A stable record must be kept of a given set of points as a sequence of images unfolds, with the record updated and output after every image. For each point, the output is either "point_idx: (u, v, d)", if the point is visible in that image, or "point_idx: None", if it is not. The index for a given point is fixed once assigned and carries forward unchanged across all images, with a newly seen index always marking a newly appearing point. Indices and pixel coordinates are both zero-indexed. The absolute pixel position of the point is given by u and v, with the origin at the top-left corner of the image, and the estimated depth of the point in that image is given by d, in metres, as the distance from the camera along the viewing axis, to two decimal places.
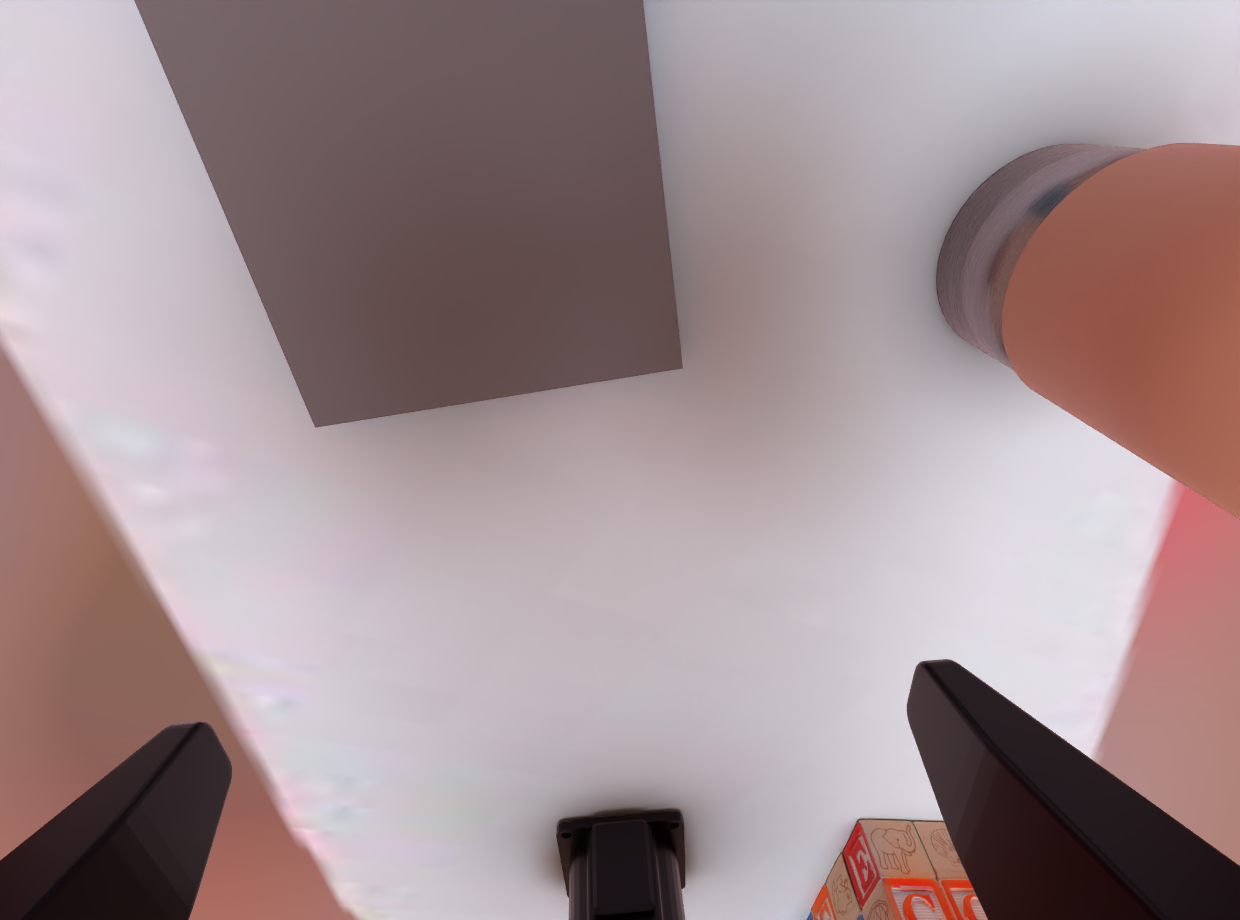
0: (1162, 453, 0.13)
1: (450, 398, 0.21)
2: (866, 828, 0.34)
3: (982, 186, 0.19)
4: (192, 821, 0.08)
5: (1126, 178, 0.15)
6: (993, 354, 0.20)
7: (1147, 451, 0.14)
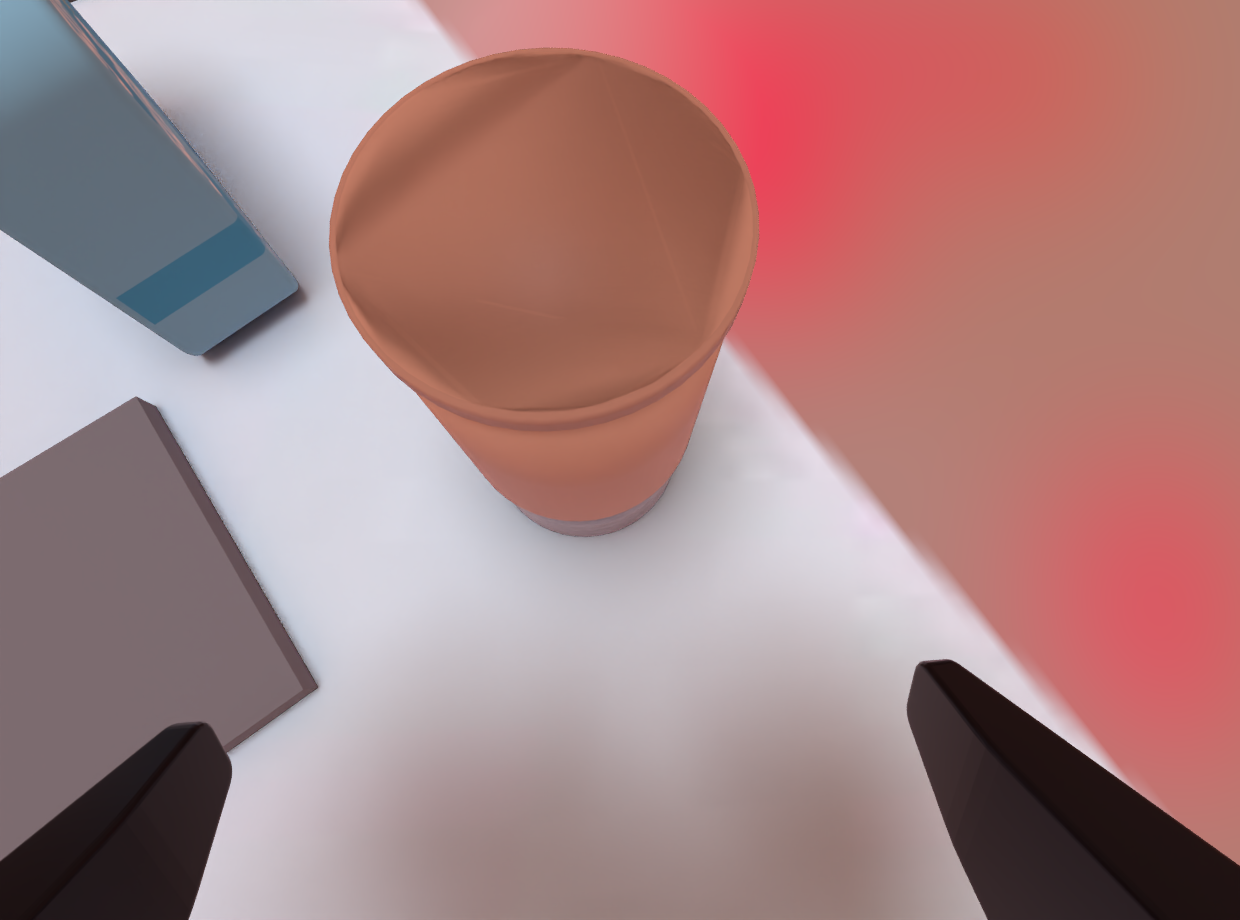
0: (489, 458, 0.13)
1: None
2: None
3: None
4: (192, 821, 0.08)
5: None
6: (556, 522, 0.20)
7: (506, 470, 0.14)
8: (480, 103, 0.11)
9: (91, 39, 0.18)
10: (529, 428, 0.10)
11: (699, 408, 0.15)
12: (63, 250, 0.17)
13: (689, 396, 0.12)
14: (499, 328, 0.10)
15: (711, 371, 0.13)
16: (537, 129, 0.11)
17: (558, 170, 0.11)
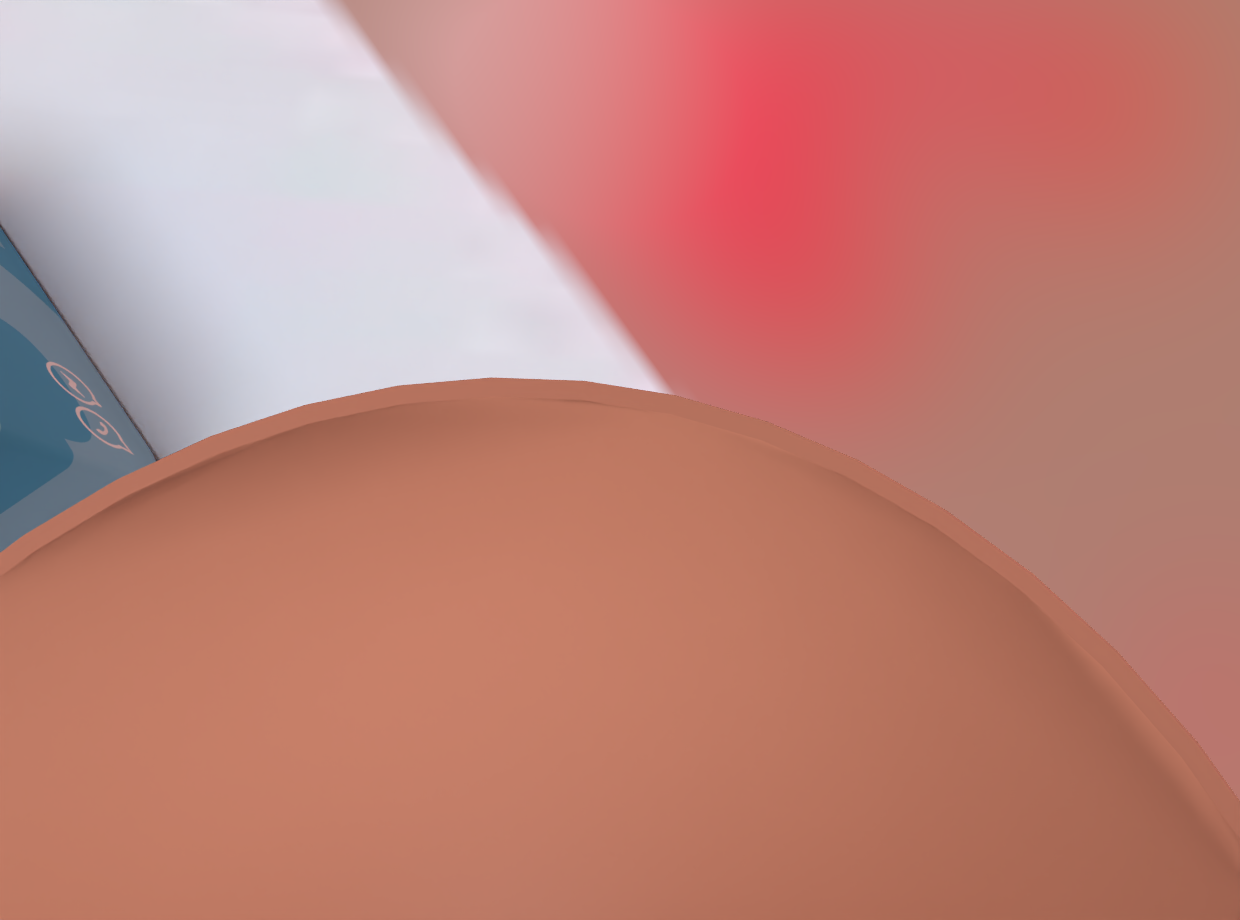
0: None
1: None
2: None
3: None
4: None
5: None
6: None
7: None
8: (229, 633, 0.03)
9: None
10: None
11: None
12: None
13: None
14: None
15: None
16: (447, 768, 0.03)
17: None
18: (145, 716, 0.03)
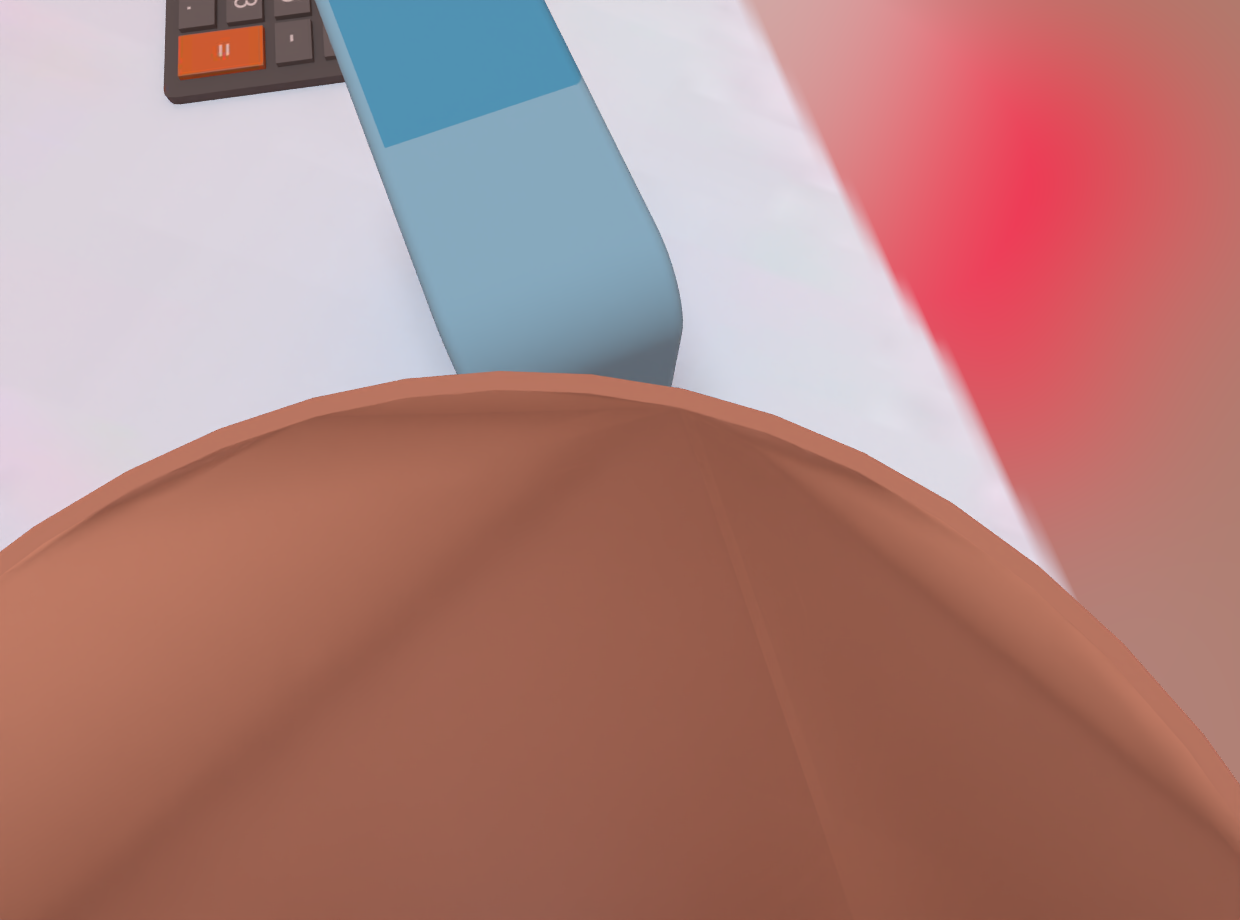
0: None
1: None
2: None
3: None
4: None
5: None
6: None
7: None
8: (237, 624, 0.03)
9: None
10: None
11: None
12: None
13: None
14: None
15: None
16: (456, 759, 0.03)
17: None
18: (156, 706, 0.03)
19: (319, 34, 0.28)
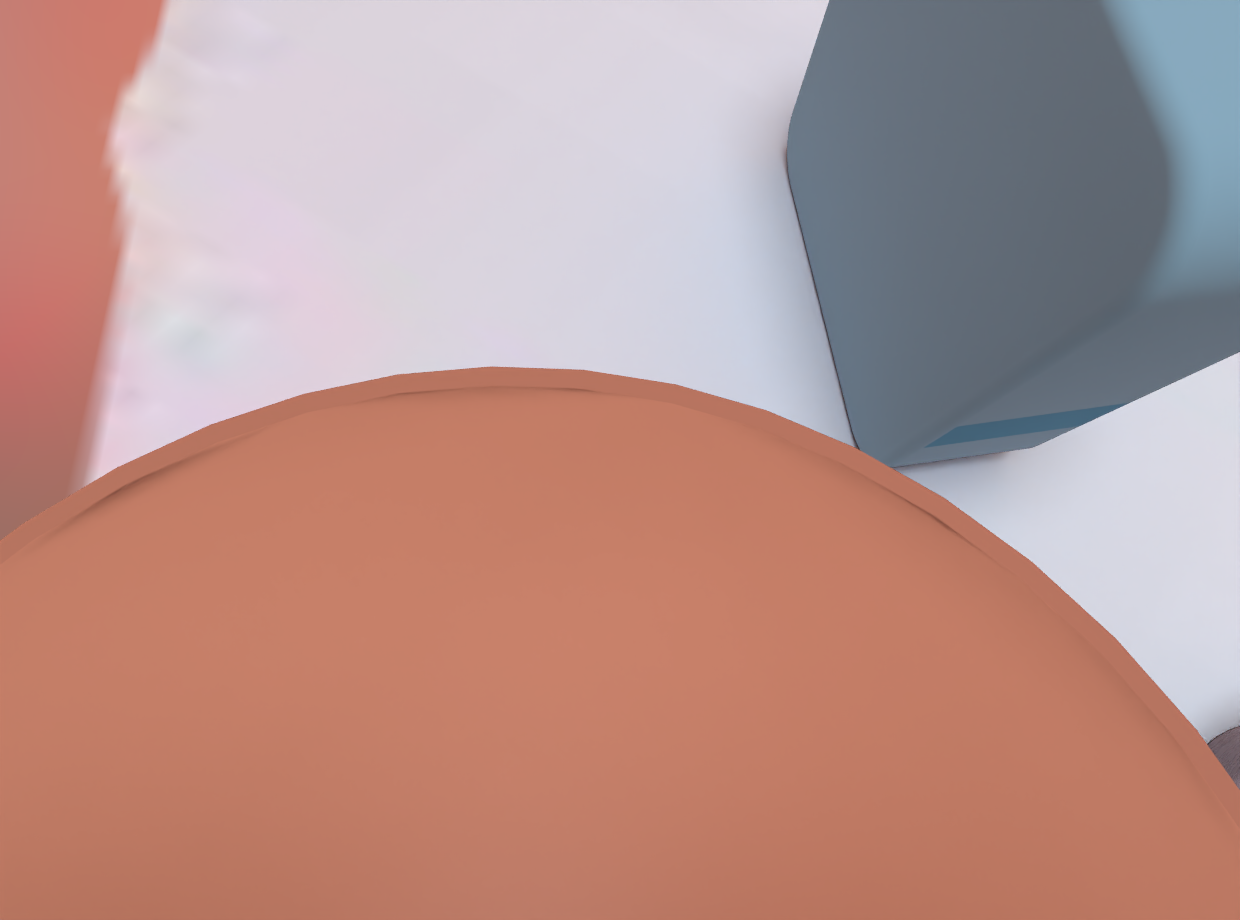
0: None
1: None
2: None
3: None
4: None
5: None
6: None
7: None
8: (226, 620, 0.03)
9: None
10: None
11: None
12: (1027, 388, 0.12)
13: None
14: None
15: None
16: (448, 753, 0.03)
17: None
18: (146, 702, 0.03)
19: None
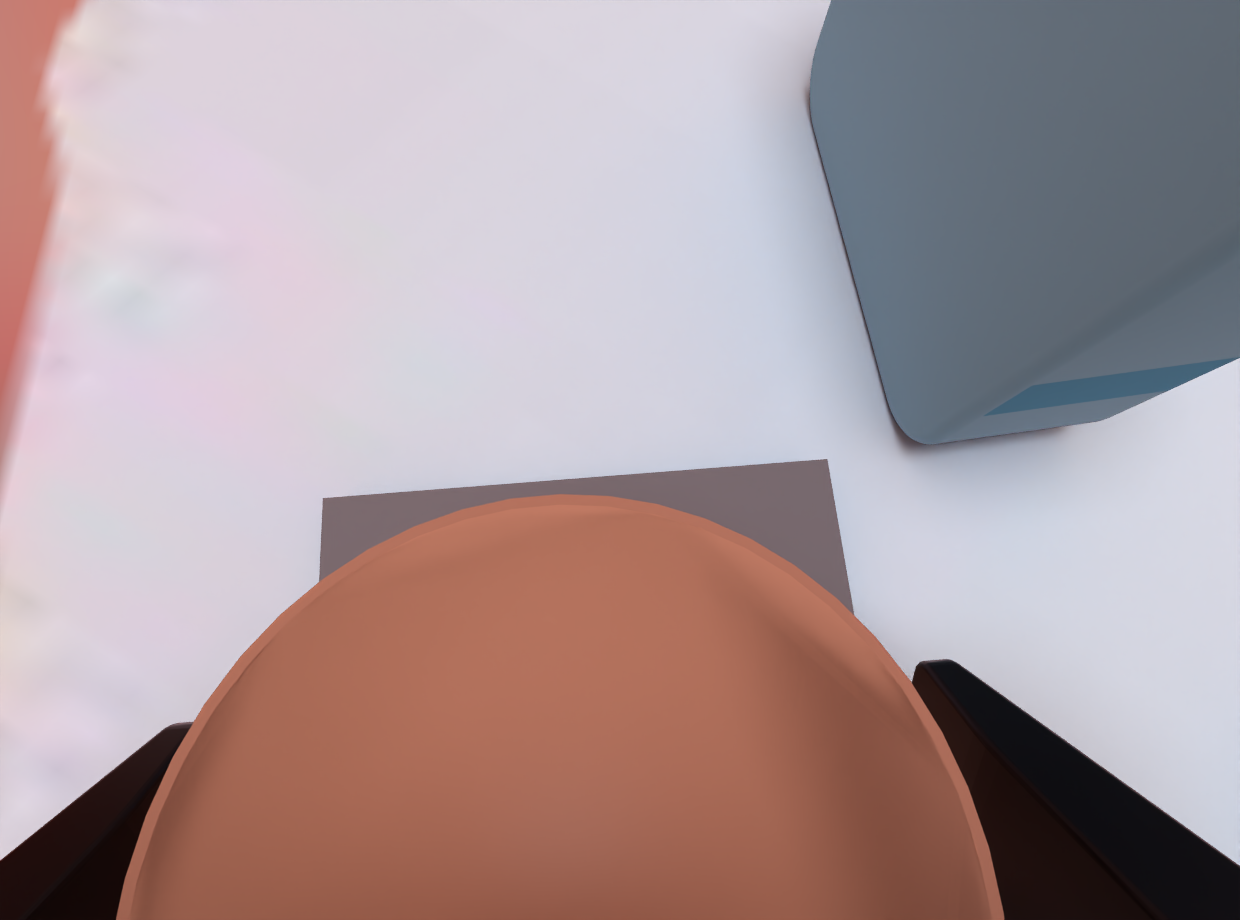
0: None
1: None
2: None
3: None
4: None
5: None
6: None
7: None
8: (431, 629, 0.06)
9: None
10: None
11: None
12: (1137, 327, 0.10)
13: None
14: None
15: None
16: (545, 693, 0.06)
17: (588, 801, 0.05)
18: (393, 670, 0.06)
19: None
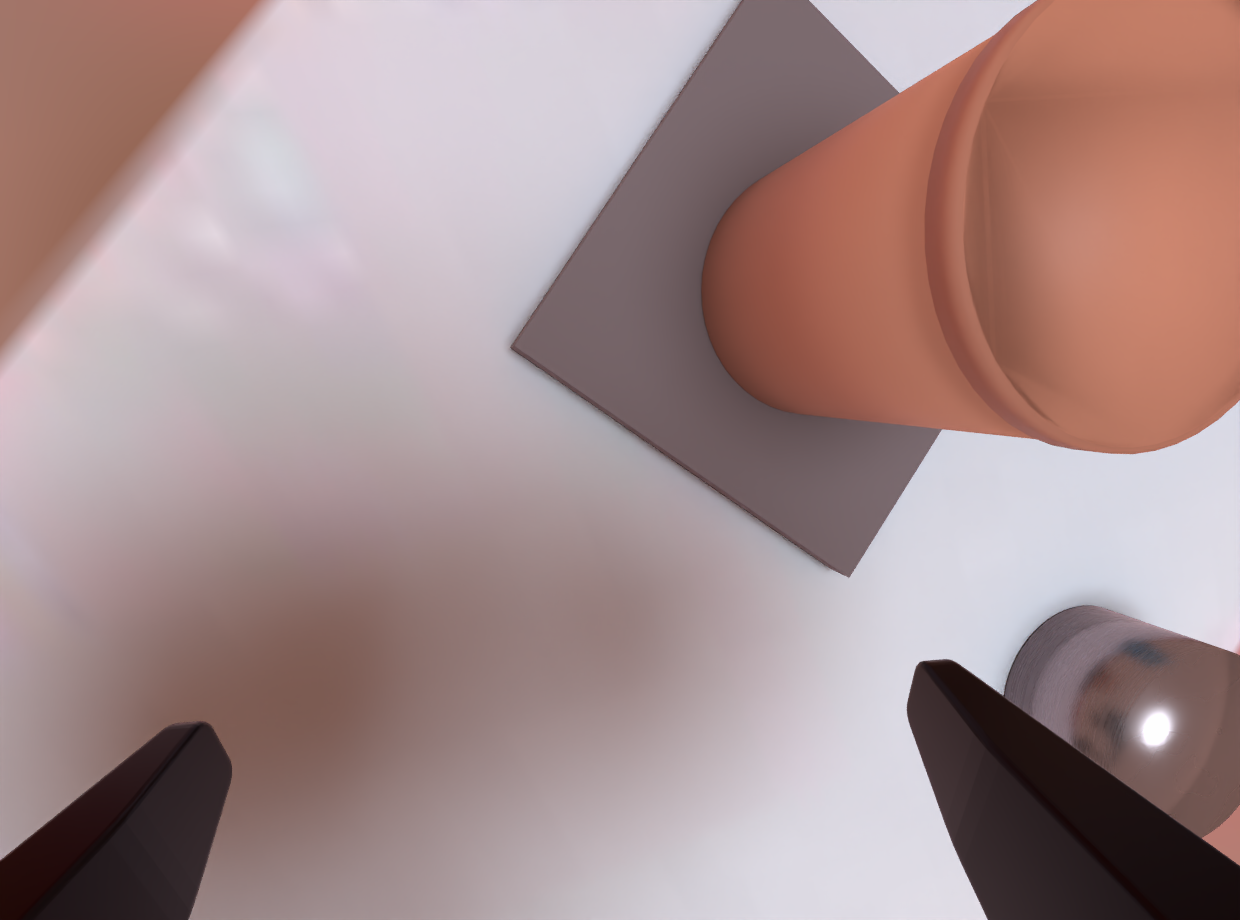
0: (826, 335, 0.12)
1: (660, 436, 0.17)
2: None
3: (1076, 608, 0.23)
4: (192, 821, 0.08)
5: None
6: None
7: (816, 350, 0.13)
8: (1197, 36, 0.09)
9: None
10: (987, 397, 0.10)
11: None
12: None
13: None
14: (1054, 297, 0.09)
15: None
16: (1211, 117, 0.10)
17: (1194, 179, 0.10)
18: (1171, 38, 0.09)
19: None
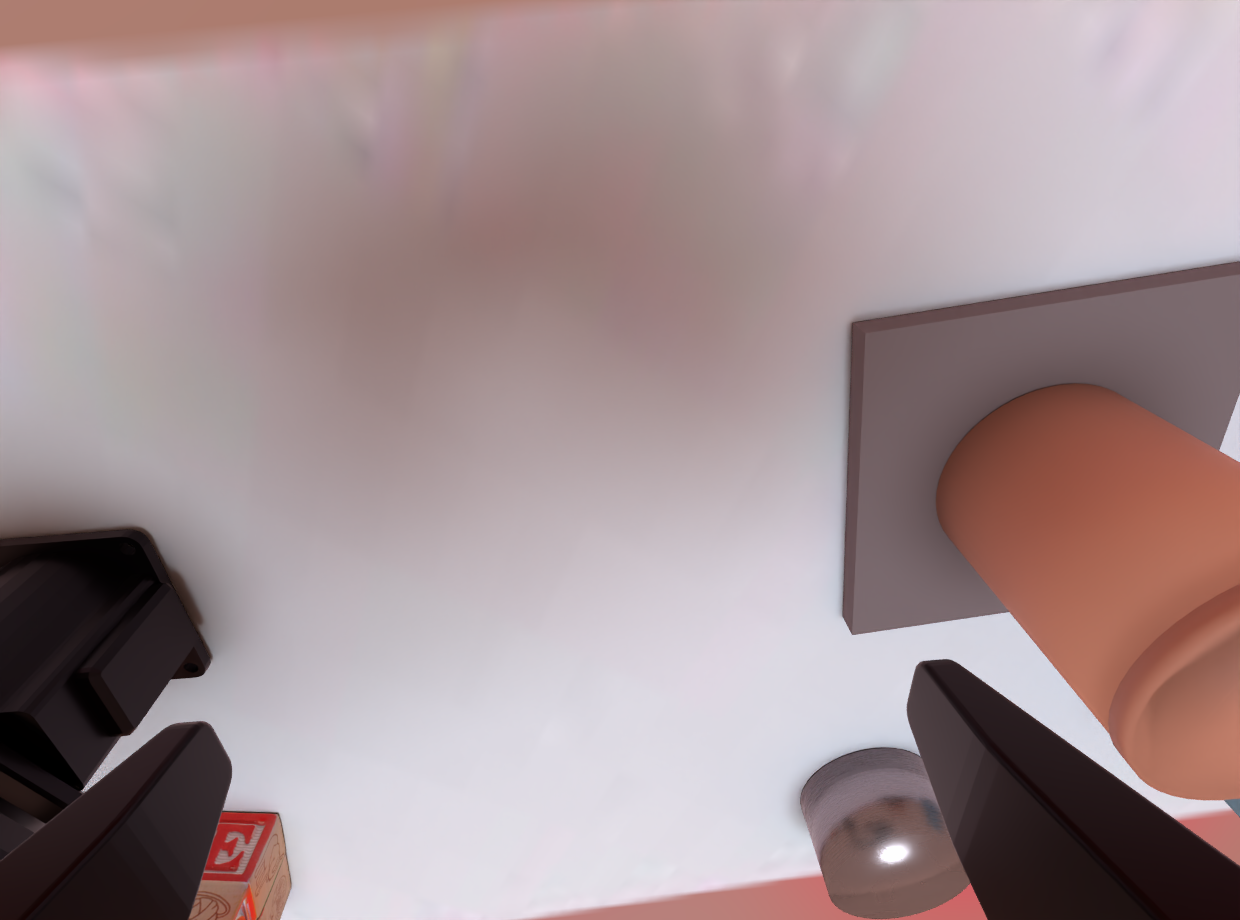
0: (1060, 553, 0.16)
1: (867, 465, 0.21)
2: (275, 827, 0.29)
3: (921, 759, 0.30)
4: (192, 821, 0.08)
5: (1133, 403, 0.19)
6: (842, 814, 0.28)
7: (1040, 550, 0.17)
8: None
9: None
10: (1120, 692, 0.14)
11: None
12: None
13: None
14: (1215, 689, 0.13)
15: None
16: None
17: None
18: None
19: None
